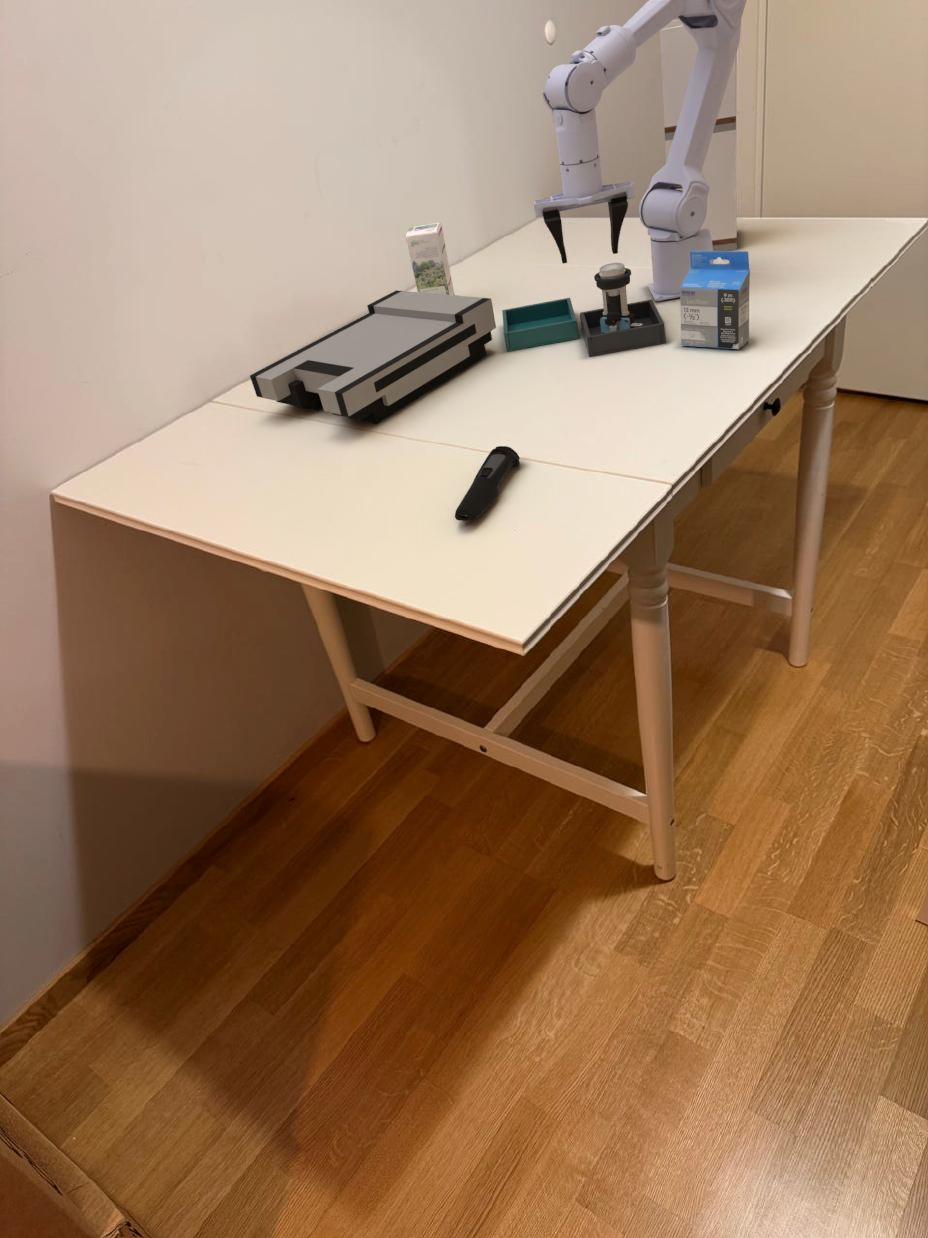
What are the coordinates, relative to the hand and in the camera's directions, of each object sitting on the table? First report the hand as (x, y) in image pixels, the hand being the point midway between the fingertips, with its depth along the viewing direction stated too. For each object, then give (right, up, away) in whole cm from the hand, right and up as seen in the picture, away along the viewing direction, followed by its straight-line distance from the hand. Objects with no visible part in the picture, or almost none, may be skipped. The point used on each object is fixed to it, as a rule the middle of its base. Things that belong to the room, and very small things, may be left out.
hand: (589, 256), depth 138 cm
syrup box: (-23, 0, +25) cm, 35 cm away
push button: (+5, -12, -1) cm, 13 cm away
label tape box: (+17, -16, -9) cm, 25 cm away
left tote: (-7, -9, +7) cm, 14 cm away
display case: (+25, +13, +28) cm, 39 cm away
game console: (-32, -19, +2) cm, 37 cm away
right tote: (+5, -12, -1) cm, 13 cm away
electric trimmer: (-16, -41, -32) cm, 54 cm away
